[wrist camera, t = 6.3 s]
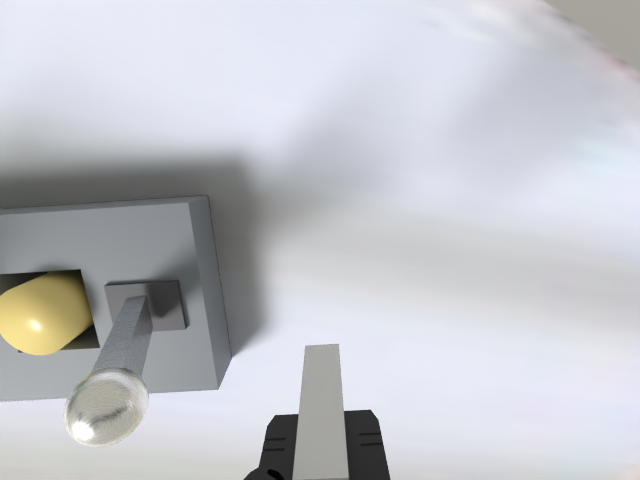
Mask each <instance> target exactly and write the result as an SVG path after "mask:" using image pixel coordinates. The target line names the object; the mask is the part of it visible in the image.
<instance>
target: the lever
mask: <svg viewBox="0 0 640 480" xmlns="http://www.w3.org/2000/svg"><path fill="white" fill-rule="evenodd" d="M152 330H153V324H152V319H151V314H150V309H149V304H148V299H147V294H146V295H140V296H135V297H129V298H126V300H125V302H124V304H123V306H122V308H121V310H120V312H119V314H118V317H117V319H116V321H115V323H114V325H113V327H112V329H111V331H110V333H109V335H108V337H107V340H106V342H105V344H104V346H103V348H102V350H101V352H100V354H99V356H98V358H97V360H96V362H95V365H94V367H93V369H92V371H91V373H90V375H88V376H87V377H85V378H84V379H83V380H81V381H80V382H79V383H78V384H77V385H76V386H75V388H74V389H73V390H72V392H71V393H70V395H69V397H68V399H67V401H66V404H65V408H64V424H65V427H66V429H67V432H68V433H69V435H70V436H71V437H72V438H73V439H74V440H75V441H77V442H78V443H80V444H82V445H85V446H90V447H104V446H109V445H112V444H115V443H117V442H119V441H121V440H122V439H124V438H126V437H127V436H128V435H130V434H131V433H132V432H133V431H134V430H135V429H136V428H137V427H138V425H139V424H140V423H141V421H142V419H143V417H144V415H145V413H146V410H147V407H148V400H149V395H148V389H147V386H146V384H145V382H144V380H143V379H142V378H141V377H142V373H143V368H144V364H145V360H146V356H147V351H148V347H149V343H150V339H151V334H152Z"/></svg>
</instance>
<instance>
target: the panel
mask: <svg viewBox="0 0 640 480" xmlns="http://www.w3.org/2000/svg"><path fill="white" fill-rule="evenodd" d="M75 269H81V273H82V277H83V281H84V285H85V289H86V293H87V297H88V301H89V305H90V309H91V313H92V317H93V321H94V324H93V325H91V326H90V327H89V328H87V329H86V330H85V331H84V332H82V333H81V334H80V335H78V336H77V337H76V338H74V339H73V340H72V341H70V342H69V343H68V344H66V345H65V346H64V347H62V348H61V349H60V350H58V351H56V352H54V353H52V354H48V355H32V354H27V353H25V352H22V351H20V350H18V349H16V348H14V347H13V346H11V345H10V344H9V343H8V342H7V341H6V340H5V339H4V338H3V337H2V336H1V334H0V402H5V401H23V400H41V399H59V398H68V397H69V395H70V393H71V392H72V390H73V389H74V388H75V386H76V385H77V384H78V383H79V382H80V381H81V380H83V379H84V378H85V377H87V376H88V375H90V373H91V371H92V369H93V367H94V365H95V362H96V360H97V358H98V356H99V354H100V352H101V350H102V348H103V346H104V344H105V342H106V340H107V337H108V335H109V333H110V331H111V329H112V327H113V325H114V323H115V321H116V319H117V317H118V314H119V312H120V310H121V308H122V306H123V304H124V302H125V300H126V298H129V297H135V296H140V295H146V294H147V299H148V304H149V309H150V314H151V319H152V324H153V330H152V334H151V339H150V343H149V347H148V351H147V356H146V360H145V364H144V368H143V373H142V377H141V378H142V379H143V380H144V382H145V384H146V386H147V389H148V393H166V392H184V391H201V390H218V389H219V387H220V385H221V382H222V380H223V378H224V375H225V373H226V371H227V368H228V366H229V364H230V361H231V359H232V357H231V350H230V343H229V336H228V329H227V322H226V316H225V309H224V302H223V295H222V288H221V282H220V275H219V268H218V261H217V254H216V248H215V241H214V234H213V227H212V220H211V213H210V207H209V200H208V195H203V196H188V197H173V198H158V199H143V200H128V201H113V202H98V203H83V204H68V205H53V206H38V207H22V208H7V209H0V296H1V295H2V294H3V293H4V292H6V291H8V290H10V289H12V288H14V287H17V286H19V285H21V284H23V283H26V282H28V281H30V280H32V279H35V278H37V277H39V276H41V275H44V274H45V273H44V271H59V270H75Z"/></svg>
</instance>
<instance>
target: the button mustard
mask: <svg viewBox="0 0 640 480" xmlns="http://www.w3.org/2000/svg"><path fill="white" fill-rule="evenodd" d="M93 324H94V321H93V317H92V313H91V309H90V305H89V301H88V297H87V293H86V289H85V285H84V281H83V277H82V273H81V269H75V270H59V271H50V272H48V273H46V274H44V275H41V276H39V277H37V278H35V279H32V280H30V281H28V282H26V283H23V284H21V285H19V286H17V287H14V288H12V289H10V290H8V291H6V292H4V293H3V294H2V295H1V296H0V334H1V336H2V337H3V338H4V339H5V340H6V341H7V342H8V343H9V344H10V345H11V346H13V347H14V348H16V349H18V350H20V351H22V352H25V353H27V354H32V355H48V354H52V353H54V352H56V351H58V350H60V349H61V348H62V347H64V346H65V345H66V344H68V343H69V342H70V341H72V340H73V339H74V338H76V337H77V336H78V335H80V334H81V333H82V332H84V331H85V330H86V329H87V328H89V327H90V326H91V325H93Z"/></svg>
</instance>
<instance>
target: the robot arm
mask: <svg viewBox="0 0 640 480" xmlns="http://www.w3.org/2000/svg"><path fill="white" fill-rule="evenodd" d="M244 480H390V475H389V470H388V465H387V460H386V455H385V450H384V445H383V441H382V436H381V431H380V426H379V421H378V419H377V418H376V416H375V415H374V414H373V412H372V411H371V410H356V411H344V408H343V395H342V382H341V368H340V355H339V344H328V345H309V346H305V355H304V365H303V376H302V386H301V396H300V407H299V414H292V415H275V416H274V418H273V419H272V420H271V422H270V423H269V425H268V426H267V430H266V435H265V441H264V445H263V451H262V454H261V459H260V464H259V467H258V468H257V469H255V470H253V471H251V472H250V473H249V474H248V475H247V476H246V478H245V479H244Z"/></svg>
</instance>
